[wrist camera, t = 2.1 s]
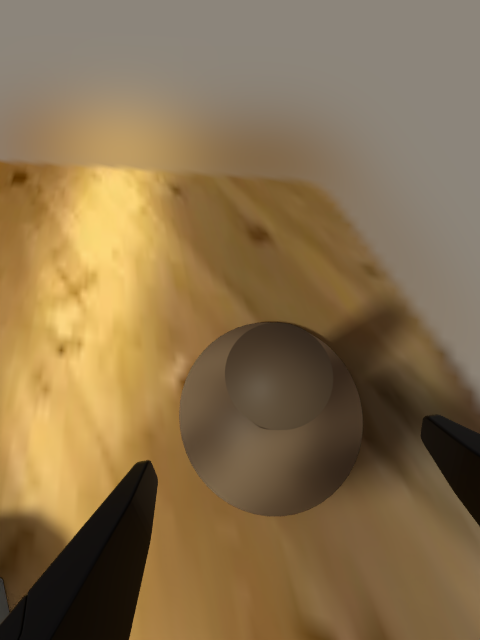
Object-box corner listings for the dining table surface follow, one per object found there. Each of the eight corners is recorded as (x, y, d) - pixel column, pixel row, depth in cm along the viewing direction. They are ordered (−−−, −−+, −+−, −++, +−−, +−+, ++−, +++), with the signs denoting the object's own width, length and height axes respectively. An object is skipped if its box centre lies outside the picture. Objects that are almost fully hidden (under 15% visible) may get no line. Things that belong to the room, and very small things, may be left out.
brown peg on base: (399, 430, 17) (657, 431, 6) (248, 562, 15) (209, 953, 4) (281, 299, 21) (302, 161, 10) (153, 386, 19) (10, 329, 8)
